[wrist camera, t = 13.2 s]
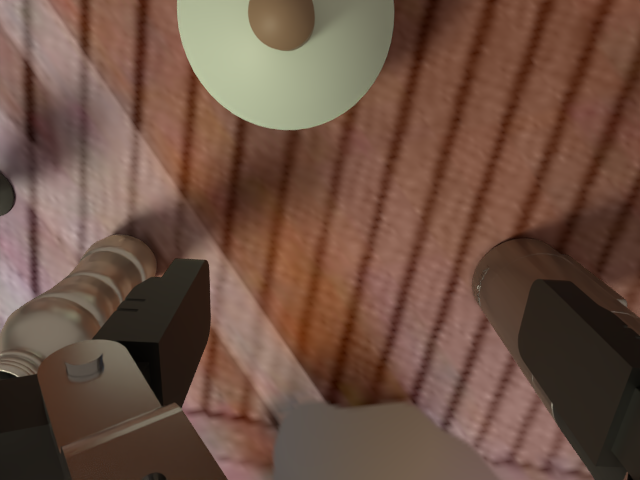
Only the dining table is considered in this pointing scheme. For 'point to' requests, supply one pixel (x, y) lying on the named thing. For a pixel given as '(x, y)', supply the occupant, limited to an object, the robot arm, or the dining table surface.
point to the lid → (286, 55)
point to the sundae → (5, 195)
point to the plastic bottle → (74, 304)
